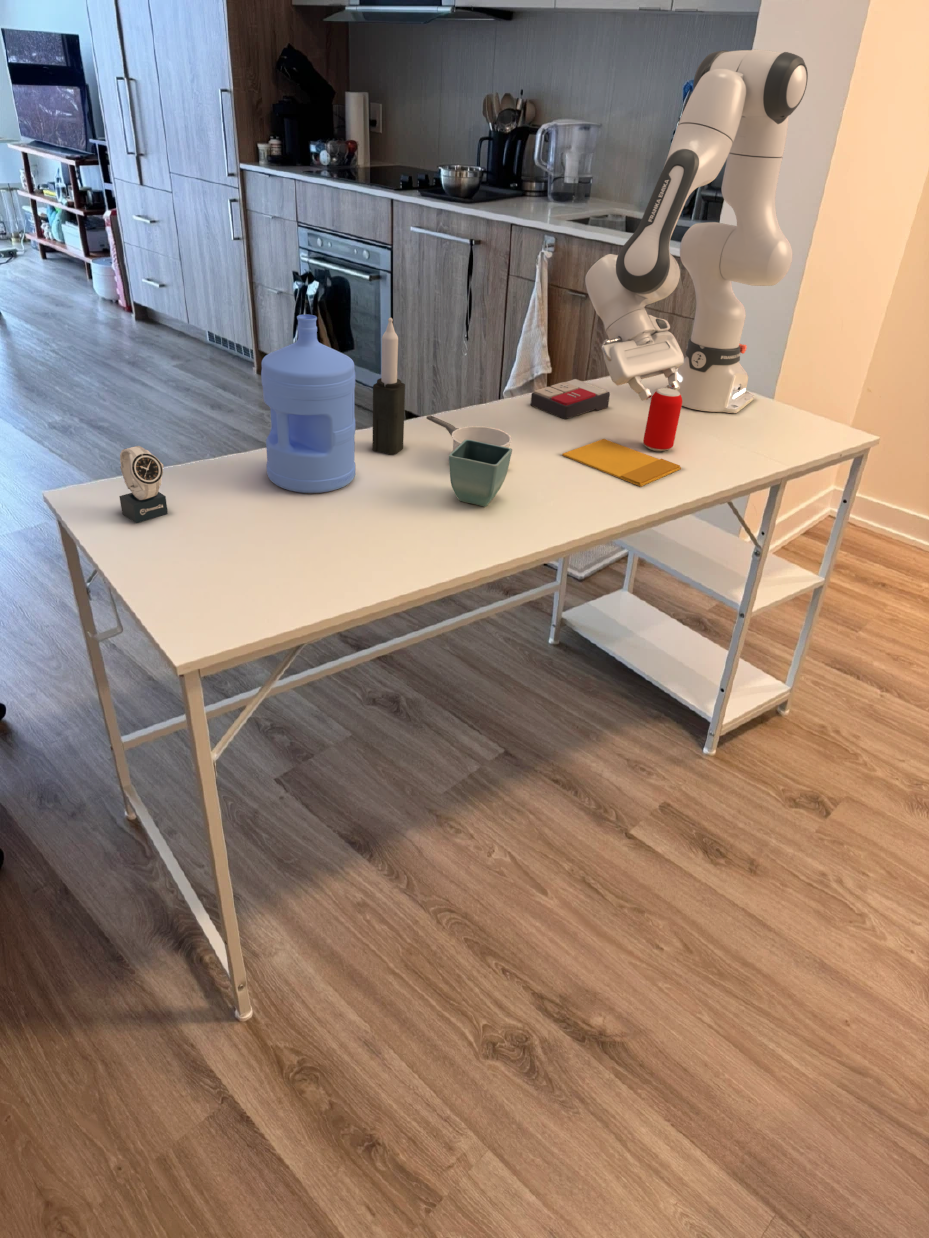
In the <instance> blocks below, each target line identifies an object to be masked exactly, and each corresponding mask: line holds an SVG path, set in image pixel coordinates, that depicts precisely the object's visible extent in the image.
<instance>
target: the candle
mask: <svg viewBox="0 0 929 1238" xmlns="http://www.w3.org/2000/svg"><path fill="white" fill-rule="evenodd" d="M387 320H388V323H387V326H386V328H385V331H384V333H383V335H382V336H381V377H380V378H378V379H377V380H376V382H375V383H374V384H373V385H372V443H371V445H372V449H371V450H372V451H373V452H375V453H382V454H386V455H388V456H389V455H390V456H394V455H397V454H398V453H399V452H401V451H402V450H403V449H404V436H405V435H404V434H405V406H406V405H405V399H406V398H405V397H406V384H405V383H404V382H402V380H401V379H399V378H398V358H399V357H398V356H399V355H398V354H399V336H398V335H397V333H396V331H395V327H394V323H393V321H394V320H393V318H392V317H389V318H387Z"/></svg>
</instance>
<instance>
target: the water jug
mask: <svg viewBox="0 0 929 1238" xmlns="http://www.w3.org/2000/svg"><path fill="white" fill-rule="evenodd" d="M296 319H297V324H298V325H297V335H298V336H297V340H296V341H295V342H293V343H290V344H288V345H286V346H283V347H280V348H279V349H277V350H274V351H272V352H269V353H268V354H266V355H265V356H264V357H263V358H262V360H261V371H260V378H261V385H262V386H261V387H262V394H263V395H262V396H263V402H264V404H265V405H266V406H268V407H269V409H270V410H269V411H270V431H269V434H268V435H267V437H266V439H265V445H266V446H265V447H266V475H267V478H268V479H269V480H270V482H272V483H273V484H274V485H275V486H277V487H279V488H282V489H284V490H287V491H290V492H296V493H302V494H303V493H304V494H319V493H327V492H332V491H336V490H339V489H342V488H344V487H346V486H348V485H349V484H350V483H352V482H353V480H354V479H355V476H356V462H355V461H356V460H355V456H356V455H355V447H356V445H355V443H356V441H355V440H356V439H355V438H356V437H355V435H356V416H355V413H356V412H355V390H356V371H355V361H354V360H353V359H352V358H351V357H350V356H348V355H347V354H345V353H343V352H341V351H338V350H336V349H334V348H332V347H330V346H327V345H325V344H323V343H321V342H319V339H318V333H317V332H318V326H317V320H318V317H317V315H313V314H307V313H306V314H305V313H304V314H298V315H297V316H296Z"/></svg>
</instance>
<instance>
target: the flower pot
mask: <svg viewBox="0 0 929 1238" xmlns="http://www.w3.org/2000/svg"><path fill="white" fill-rule="evenodd" d="M512 452H513V449H512V448H511V447H509V448H507V447H502V446H497V445H492V444H487V443H483V442H479V441H474V440H468V439H465V440H464V441H463V442H462V443H461V444H460V445H459V446H458V447H457V448H456V449H455V450H454V451H453V450H452V451H451V452H449V454H448V469H449V480H450V484H451V488H452V491H453V493H454V495H455V496H456V498H457V499H458V501H459V502H463V503H466V504H467V503H468V504H472V505H476V506H480V507H487V506H488V505H489V504H490V503H491V501H493V499H494V498H495V496H496V495H497V494H498V492H499V491H500V490H501V488H502V486H503V484H504V483H505V480H506V478H507V474H508V471H509V466H510V462H511V458H512Z"/></svg>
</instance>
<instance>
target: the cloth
mask: <svg viewBox="0 0 929 1238" xmlns="http://www.w3.org/2000/svg"><path fill="white" fill-rule="evenodd" d="M561 455H562V457H564V458H568V459H570V460H572V461H574V462H578V463H580V464H582V465H585V466H588V467H591V468H593V469H594V470H598V471H599V472H603V473H605V474H607V475H611V476H612V477H615V478H618V479H620V480H623V481H625V482H627V483H631V484H633V485H635V486H637V487H640V488H641V487H644V486H647V485H648V484H650V483H653V482H655V481H657V480H659V479H662V478H664V477H666V476H669V475H672V474H673V473H675V472H678V471H680V470H681V469H682V467H681V465H680V464H677V463H675V462H672V461H669V460H666V459H665V458H657V457H654V456H651V455H649V454H646V453H644V452H640V451H638V450H635V449H633V448H630V447H628V446H624V445H622V444H619V443H616V442H613V441H612V440H608V439H606V438H601V439H598V440H597V441H594V442H590V443H588V444H585V445H583V446H579V447H576V448H574V449H571V450H568V451H566V452H563V453H562V454H561Z"/></svg>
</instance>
